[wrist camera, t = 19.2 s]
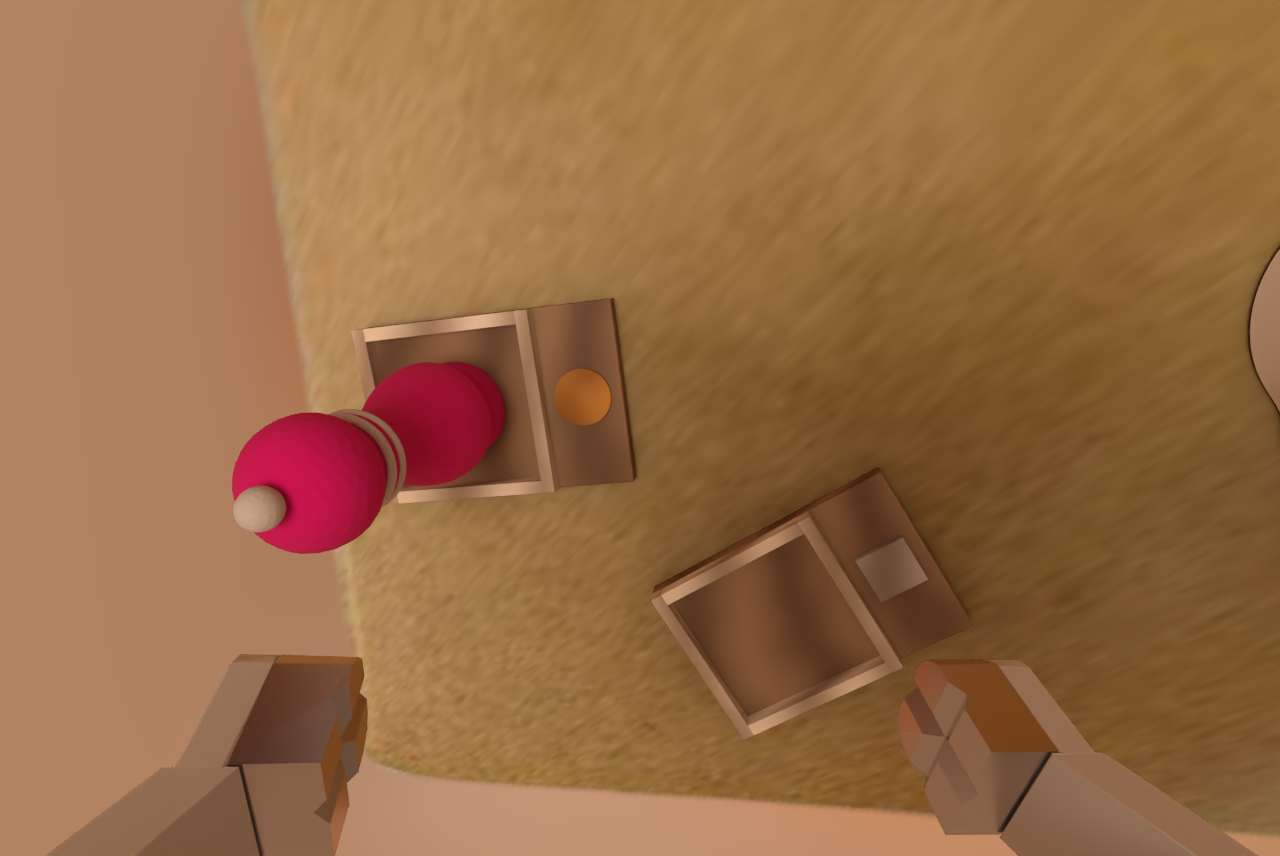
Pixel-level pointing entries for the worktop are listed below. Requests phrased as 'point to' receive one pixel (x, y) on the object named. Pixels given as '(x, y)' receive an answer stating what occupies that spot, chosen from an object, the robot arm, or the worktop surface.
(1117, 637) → the worktop surface
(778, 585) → the grey tag dock
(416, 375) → the pepper mill
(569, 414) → the orange tag dock
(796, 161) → the worktop surface
